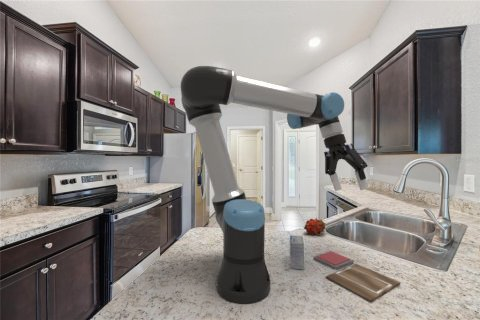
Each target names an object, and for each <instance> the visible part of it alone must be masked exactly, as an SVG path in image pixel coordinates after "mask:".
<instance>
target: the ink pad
mask: <svg viewBox="0 0 480 320" xmlns="http://www.w3.org/2000/svg"><path fill="white" fill-rule="evenodd" d="M312 260H314V261H315V262H318V263H320V264H323V266H327V267H329V268H331V269H333V270H334V271H337V270H338V271H339V270H341V269H342V268H346V267H348V266H351V265H352V264H354V259H352V258H349V257H347V256H344V255H341V254H340V253H336V252H335V251H332V250H330V251H326V252H323V253H320V254H318V255H314V256H313V259H312Z"/></svg>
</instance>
